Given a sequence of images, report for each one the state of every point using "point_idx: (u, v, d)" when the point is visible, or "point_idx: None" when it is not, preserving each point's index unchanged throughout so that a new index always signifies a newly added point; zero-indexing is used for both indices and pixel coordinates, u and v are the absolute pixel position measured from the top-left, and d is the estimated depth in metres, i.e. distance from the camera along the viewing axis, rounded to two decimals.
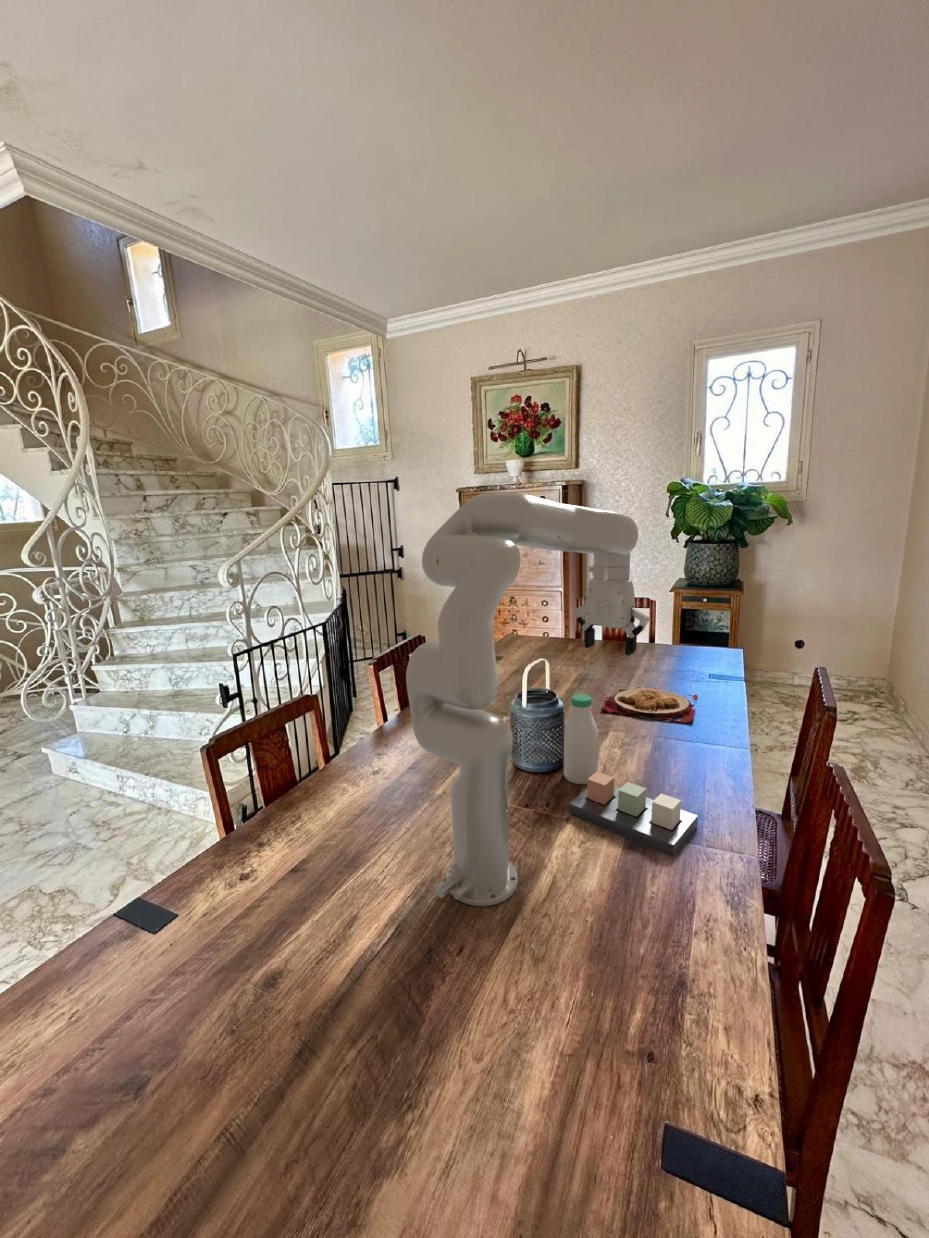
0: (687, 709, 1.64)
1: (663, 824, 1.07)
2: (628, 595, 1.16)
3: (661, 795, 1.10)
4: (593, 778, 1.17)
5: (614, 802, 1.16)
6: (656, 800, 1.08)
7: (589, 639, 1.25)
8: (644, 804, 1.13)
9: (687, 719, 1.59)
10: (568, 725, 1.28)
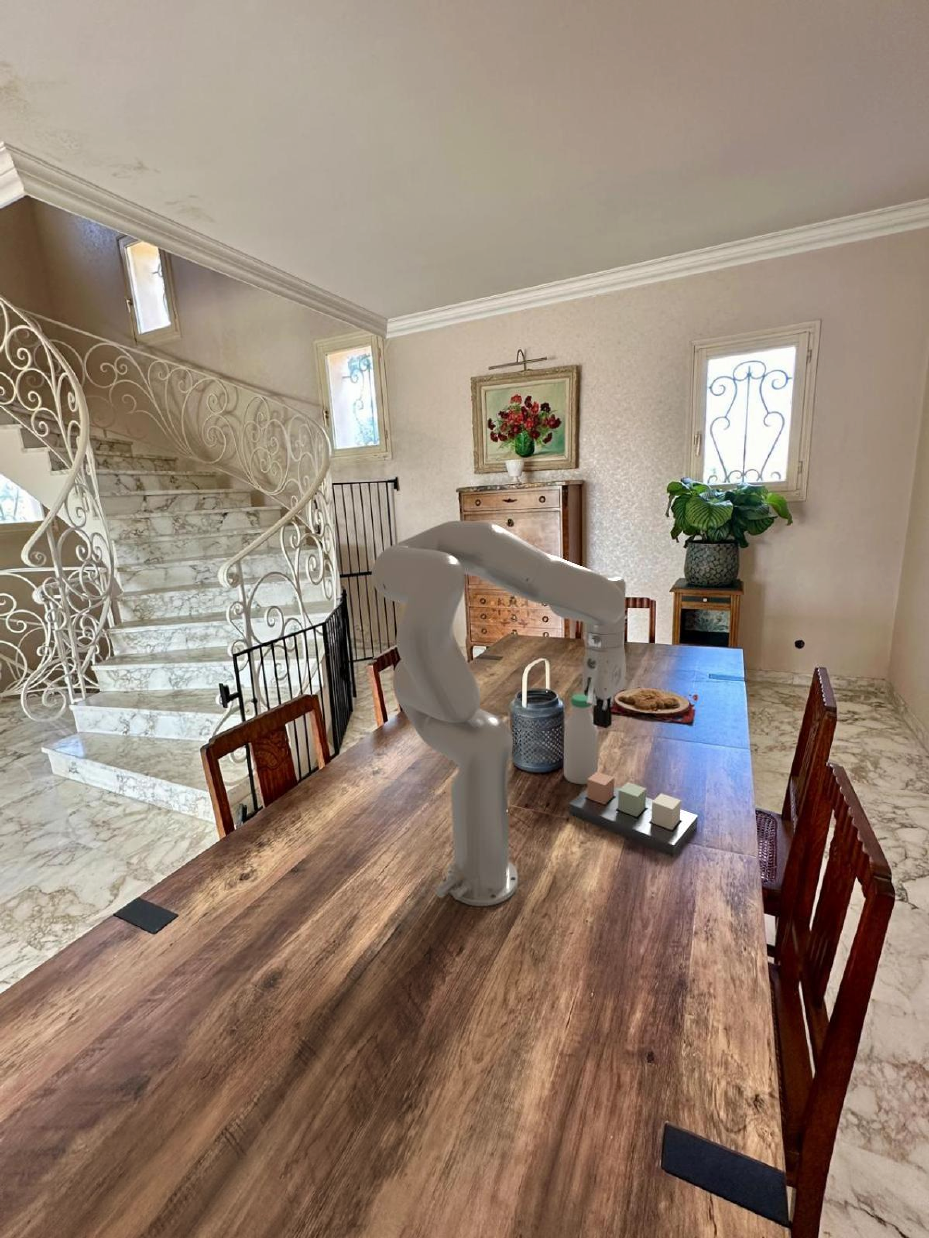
0: (687, 709, 1.64)
1: (663, 824, 1.07)
2: None
3: (661, 795, 1.10)
4: (593, 778, 1.17)
5: (614, 802, 1.16)
6: (656, 800, 1.08)
7: None
8: (644, 804, 1.13)
9: (687, 719, 1.59)
10: (568, 725, 1.28)
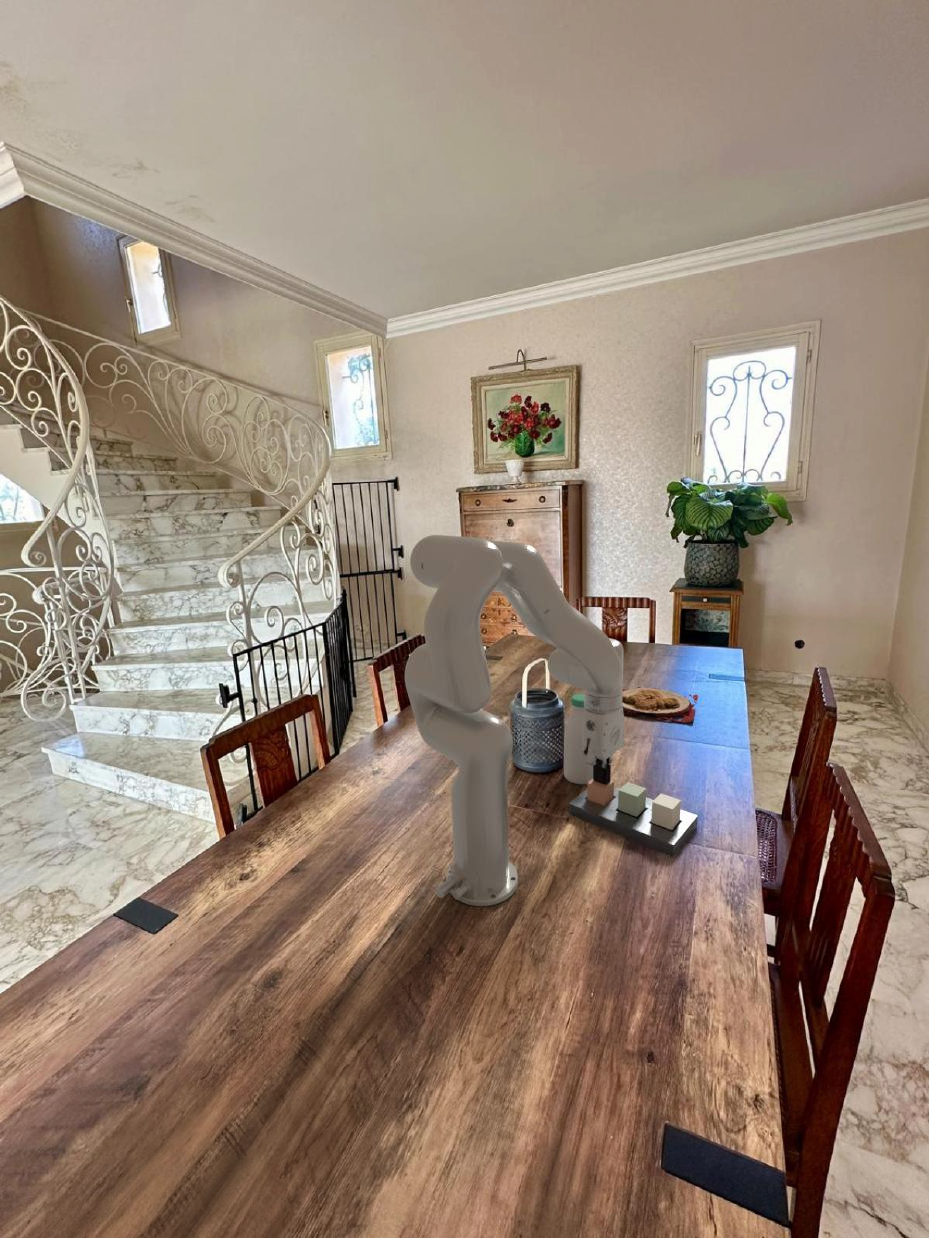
0: (687, 709, 1.64)
1: (663, 824, 1.07)
2: None
3: (661, 795, 1.10)
4: (593, 781, 1.17)
5: (614, 802, 1.16)
6: (656, 800, 1.08)
7: None
8: (644, 804, 1.13)
9: (687, 719, 1.59)
10: (568, 725, 1.28)
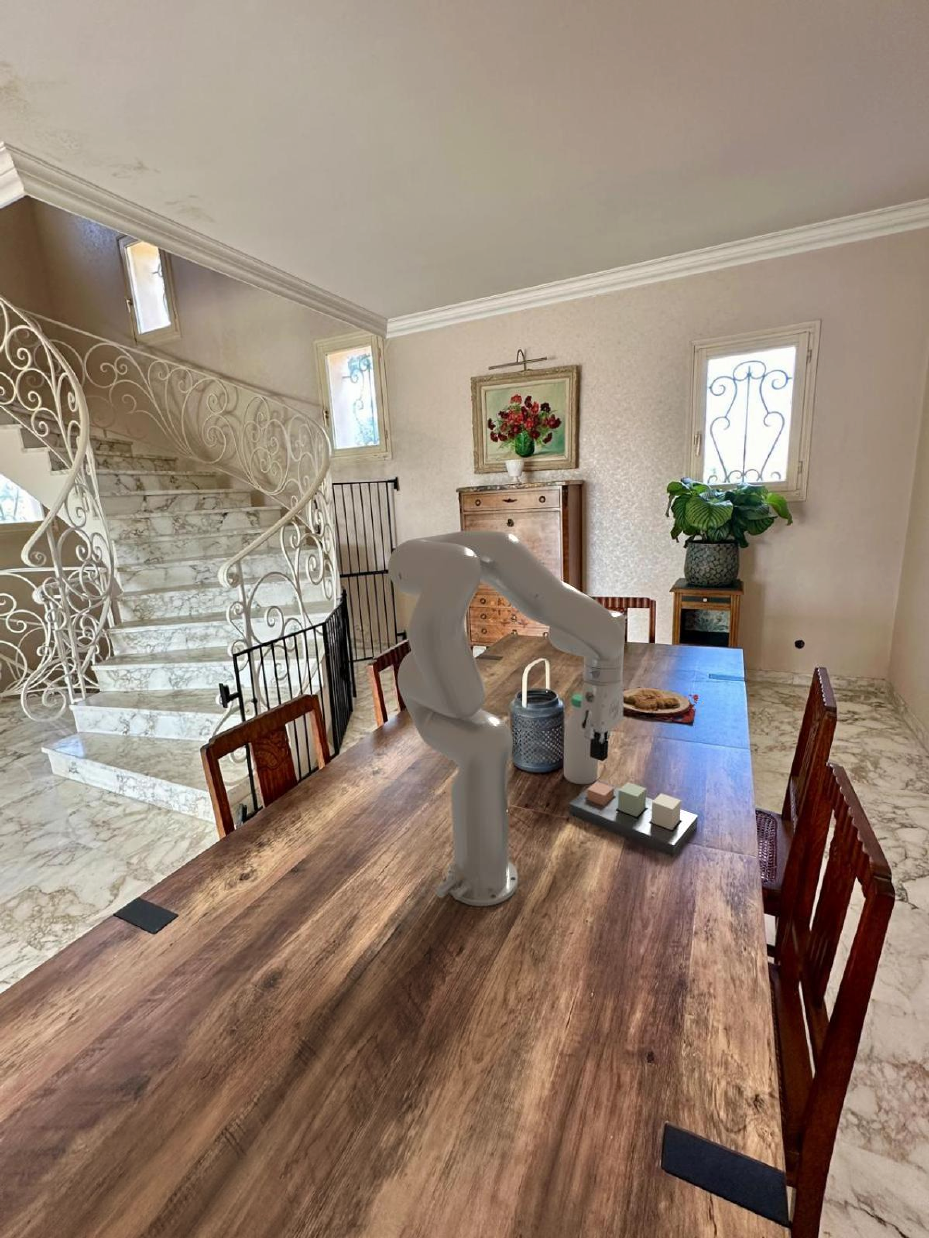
0: (687, 709, 1.64)
1: (663, 824, 1.07)
2: None
3: (661, 795, 1.10)
4: (592, 788, 1.18)
5: (614, 802, 1.16)
6: (656, 800, 1.08)
7: None
8: (644, 804, 1.13)
9: (687, 719, 1.59)
10: (568, 725, 1.28)
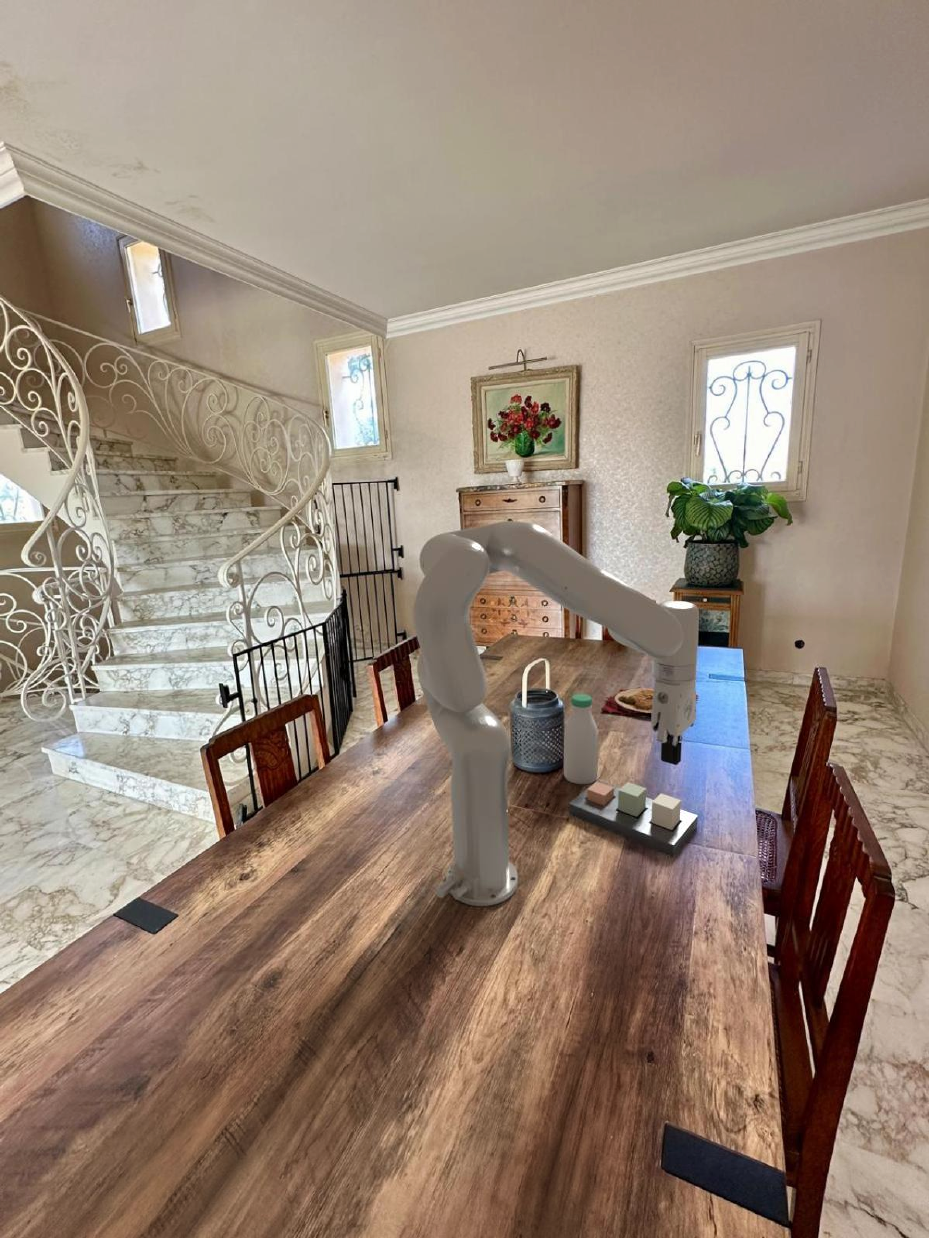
0: None
1: (663, 824, 1.07)
2: None
3: (661, 795, 1.10)
4: (592, 788, 1.18)
5: (614, 802, 1.16)
6: (656, 800, 1.08)
7: None
8: (644, 804, 1.13)
9: None
10: (568, 725, 1.28)
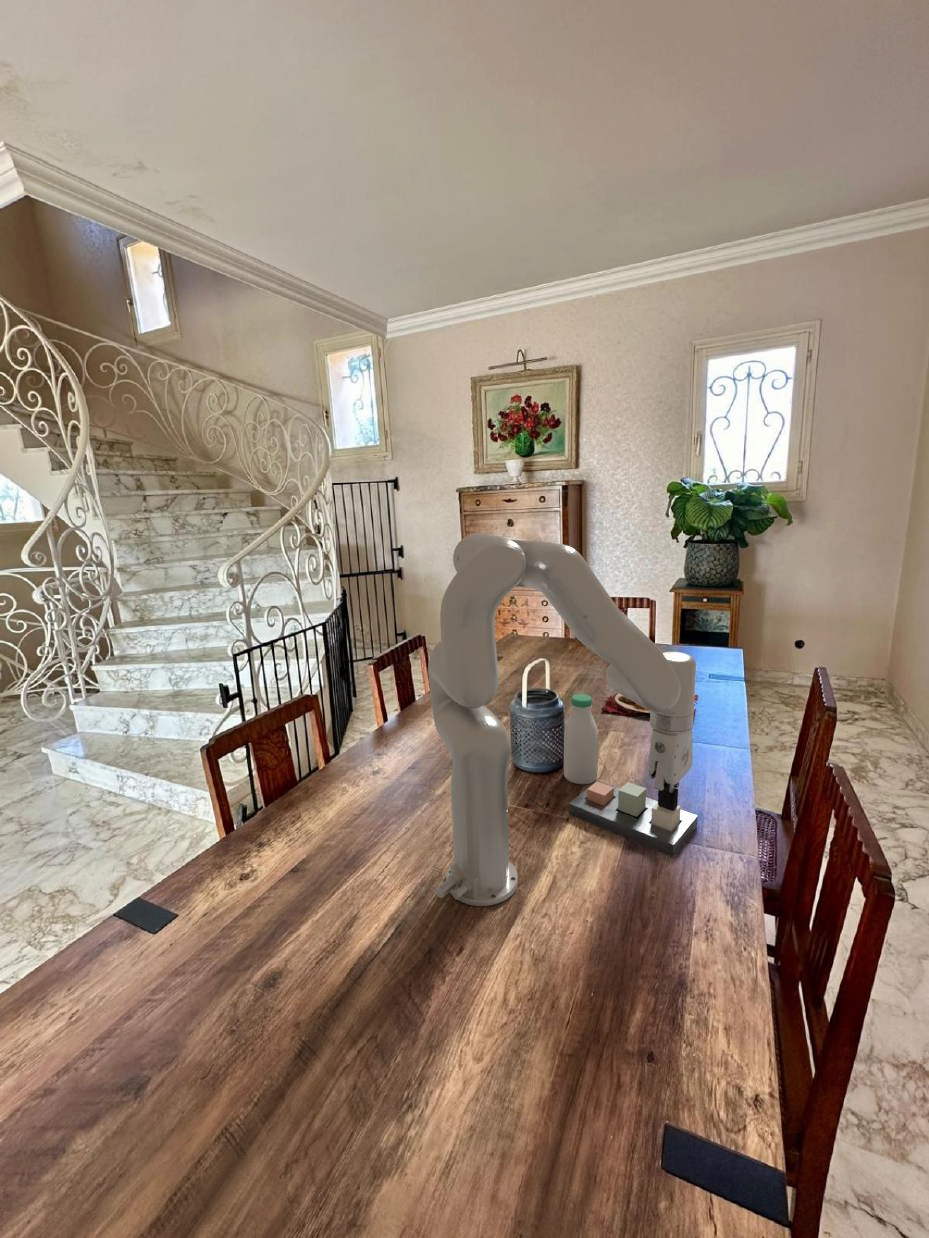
0: None
1: None
2: None
3: None
4: (592, 788, 1.18)
5: (614, 802, 1.16)
6: (656, 806, 1.09)
7: None
8: (644, 804, 1.13)
9: None
10: (568, 725, 1.28)
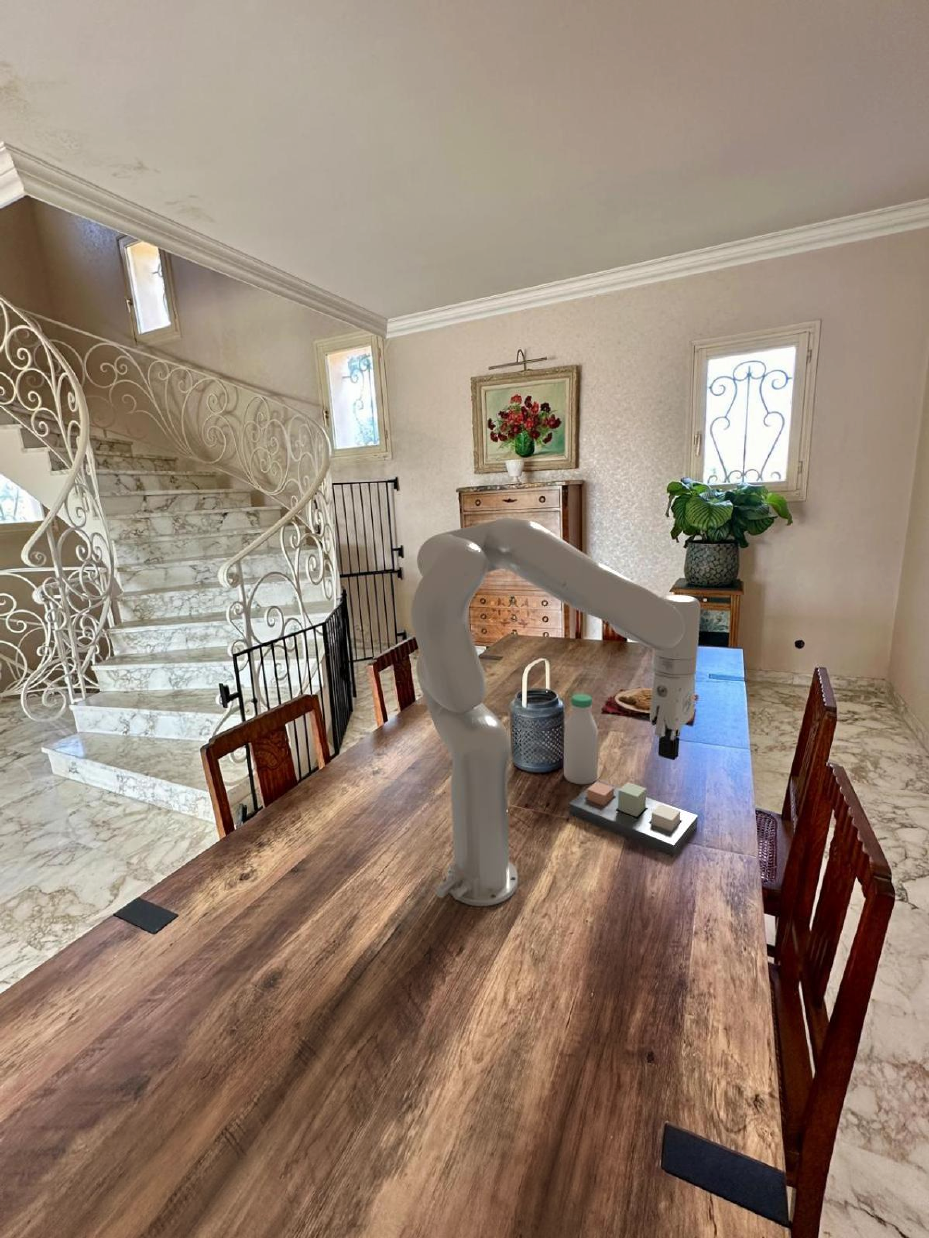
0: None
1: None
2: None
3: (660, 806, 1.10)
4: (592, 788, 1.18)
5: (614, 802, 1.16)
6: (655, 811, 1.09)
7: None
8: (644, 804, 1.13)
9: None
10: (568, 725, 1.28)
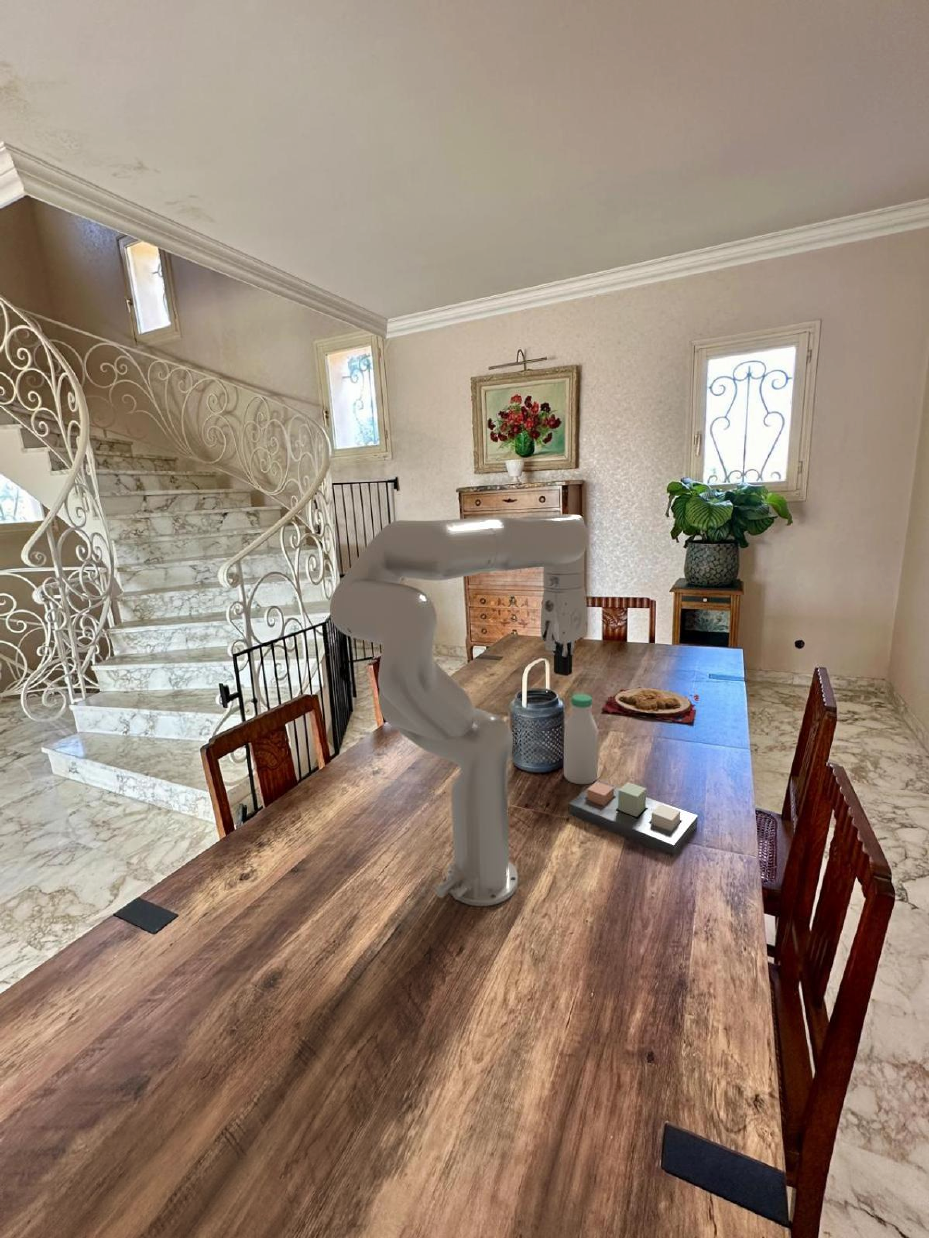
0: (688, 709, 1.64)
1: None
2: None
3: (660, 806, 1.10)
4: (592, 788, 1.18)
5: (614, 802, 1.16)
6: (655, 811, 1.09)
7: None
8: (644, 804, 1.13)
9: (688, 719, 1.59)
10: (568, 725, 1.28)
